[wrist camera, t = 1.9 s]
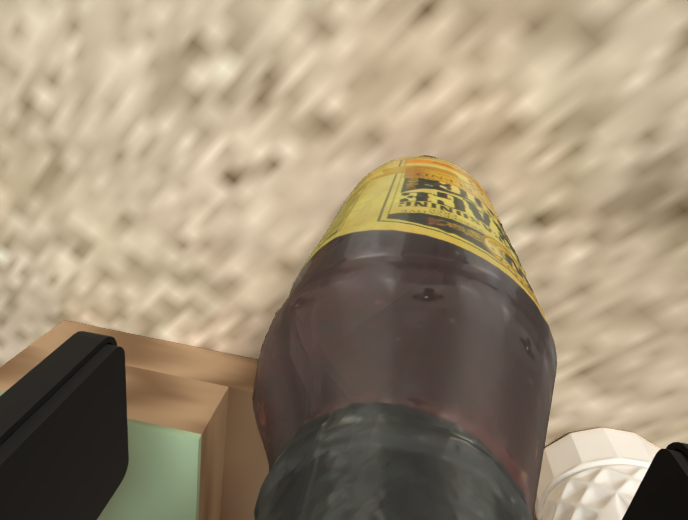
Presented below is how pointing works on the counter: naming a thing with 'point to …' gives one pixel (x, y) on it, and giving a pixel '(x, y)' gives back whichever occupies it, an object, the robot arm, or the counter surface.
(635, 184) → the counter surface
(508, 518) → the sauce bottle
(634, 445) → the white cup
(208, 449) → the stand
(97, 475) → the robot arm
